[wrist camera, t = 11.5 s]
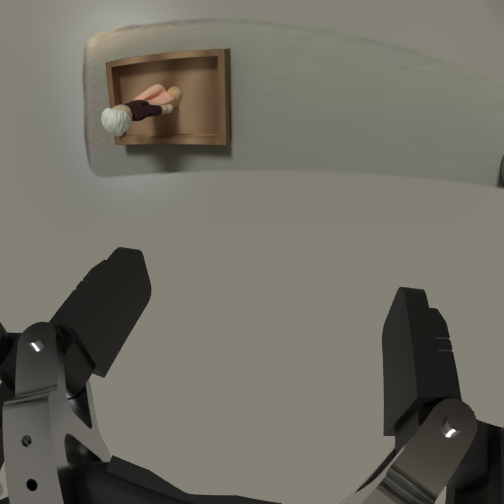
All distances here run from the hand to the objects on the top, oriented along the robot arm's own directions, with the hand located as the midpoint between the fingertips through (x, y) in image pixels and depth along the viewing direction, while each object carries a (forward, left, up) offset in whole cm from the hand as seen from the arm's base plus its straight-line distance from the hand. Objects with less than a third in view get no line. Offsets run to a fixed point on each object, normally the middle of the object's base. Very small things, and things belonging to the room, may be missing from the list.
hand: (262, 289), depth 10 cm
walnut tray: (+17, 0, -32) cm, 36 cm away
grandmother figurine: (+18, 0, -32) cm, 36 cm away
